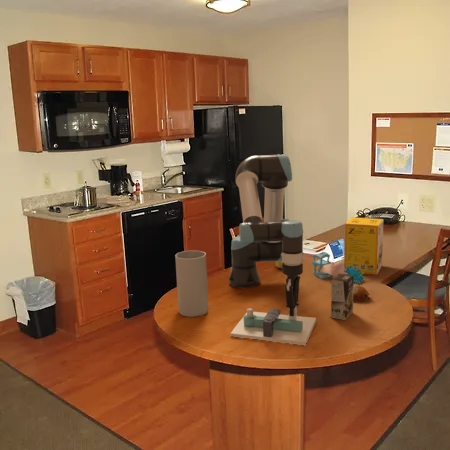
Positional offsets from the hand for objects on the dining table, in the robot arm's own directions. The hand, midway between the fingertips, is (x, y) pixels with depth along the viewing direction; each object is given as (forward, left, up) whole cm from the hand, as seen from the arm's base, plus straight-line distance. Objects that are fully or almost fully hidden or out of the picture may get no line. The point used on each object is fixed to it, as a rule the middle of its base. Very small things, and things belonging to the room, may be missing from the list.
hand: (292, 322), depth 192 cm
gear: (+17, +62, -4) cm, 64 cm away
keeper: (-7, -5, -2) cm, 9 cm away
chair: (0, +68, -4) cm, 68 cm away
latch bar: (-7, -2, -2) cm, 8 cm away
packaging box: (+19, +84, -4) cm, 86 cm away
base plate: (-7, 0, -3) cm, 8 cm away
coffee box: (+16, +20, -4) cm, 26 cm away
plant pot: (-22, +78, -4) cm, 81 cm away
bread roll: (+20, +40, -4) cm, 45 cm away
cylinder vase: (-44, +8, -4) cm, 45 cm away
